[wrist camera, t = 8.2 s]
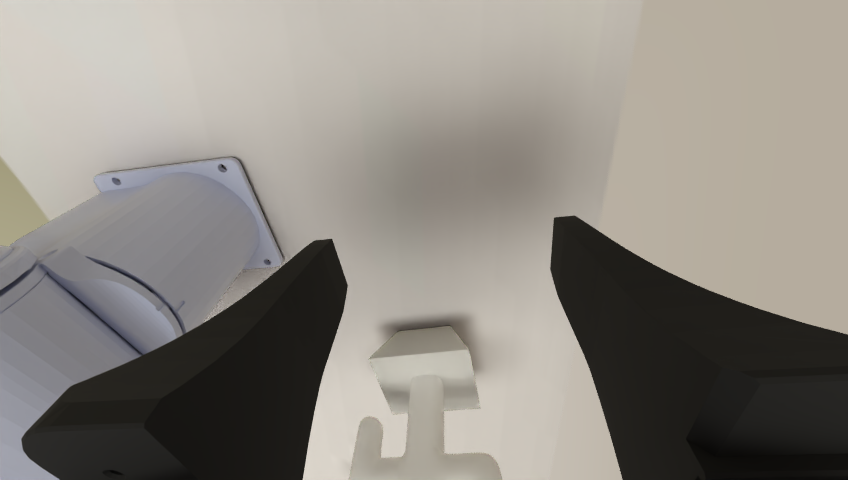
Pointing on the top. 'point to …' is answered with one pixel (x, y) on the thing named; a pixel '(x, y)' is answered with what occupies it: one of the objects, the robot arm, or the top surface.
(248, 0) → the top surface
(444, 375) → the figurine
